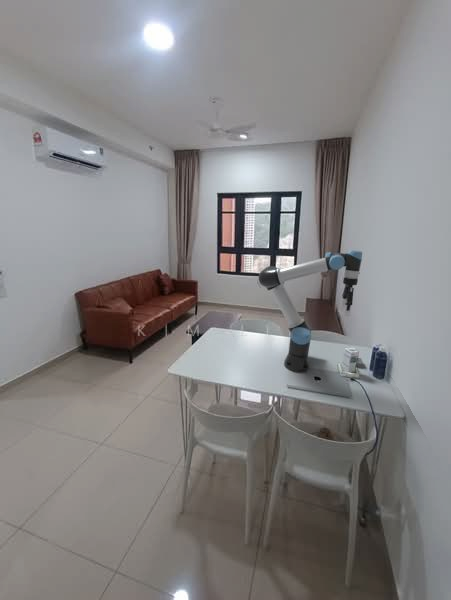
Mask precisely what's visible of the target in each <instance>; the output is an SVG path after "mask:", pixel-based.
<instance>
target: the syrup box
mask: <svg viewBox="0 0 451 600" xmlns="http://www.w3.org/2000/svg"><path fill="white" fill-rule="evenodd" d="M359 355H360V351H359V350H358V349H356V348H354V347H349V348H347V347H346V348H344V351H343V358H342V363H341V364H342V368H341V369H342V371H344V372H350V373H355V372H356V367H357V362H358V358H359ZM357 368H358V367H357Z"/></svg>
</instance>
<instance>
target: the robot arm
mask: <svg viewBox="0 0 451 600" xmlns="http://www.w3.org/2000/svg"><path fill="white" fill-rule="evenodd" d="M362 261H363V252H362V251H361V250H353V249H352V250H351V249H349V250H348V252H347V253H343V252H333V251H332V252H329V251H327V252H326V253H325V256H324V257H323V258H319V259H315V260H311V261H307V262H303V263H300V264H295V265H291V266H288V267H284V268H279V267H276V266H275V265H274V266H273V265H271V266H266V267H265V268H264V269H262V270H261V271H260V272H259V274H258V283H259V285H260V286H261V287H264V288H266V289H267V291H268V292H270V293H272V296H273V297H274V300H275V301H276V303H277V305H278V307H279V308H280V311H281V312H282V313H281V314H282V315H283V316H284V319H285V320H286V322H287V323H288V325H287V328H288V331H289V333H290V335H289V336H290V337H289V338H290V339H289V346H288V353H287V355H286V357H285V359H284V363H283V365H284V367H285V368H286V369H287V370H289V371H291V372H296V373H306V372H308V371H309V370H310V366H311V365H310V360H309V353H310V352H309V351H310V347H311V346H310V344H311V340H312V329H311V327H310V326H309V324H308V323H307V322H306V320H305V319H304V318H301V316H300V313H299V312H298V311H297V309H296V306H295V304H294V303H293V300H292V299H291V297H290V295H289V294H288V292H287V290H286V288H285V286H284V284H285V282H288V281H293V280H296V279H301V278H304V277H305V278H306V277H308V276H312V275H316V274H320V273H324V272H329V271H333V270H335V271H336V270H337V271H338V270H341V269H342V268H344V267H345V269H344V277H343V281H342V283H343V285H344V288H343V293H342V296H341V297H342V300H341V305H340V310H344V313H343V316H345V317H346V316H347V317H350V313H351V309H352V306H353V302H354V301H353V299H354V289H355V288H354V287H353V286H357V285H358V278H359V275H360V274H361V272H360V270H361V264H362ZM307 370H308V371H307Z"/></svg>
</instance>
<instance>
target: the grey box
mask: <svg viewBox="0 0 451 600" xmlns="http://www.w3.org/2000/svg"><path fill="white" fill-rule="evenodd" d="M358 369H364V361H363V360H362V358H361V357H358V362H357V370H358ZM358 371H359V370H358Z"/></svg>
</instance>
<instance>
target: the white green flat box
mask: <svg viewBox="0 0 451 600" xmlns="http://www.w3.org/2000/svg"><path fill="white" fill-rule="evenodd" d="M336 365H337V369H338V373H339V372H340V373H342V374H345V375H346V376H347V377H346V378H351V379H356V380H360V373H359V370H357V369H358V367H356V372H355V373H350V372H344V371H342V369H341V368H342V363H338V364H336Z"/></svg>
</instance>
